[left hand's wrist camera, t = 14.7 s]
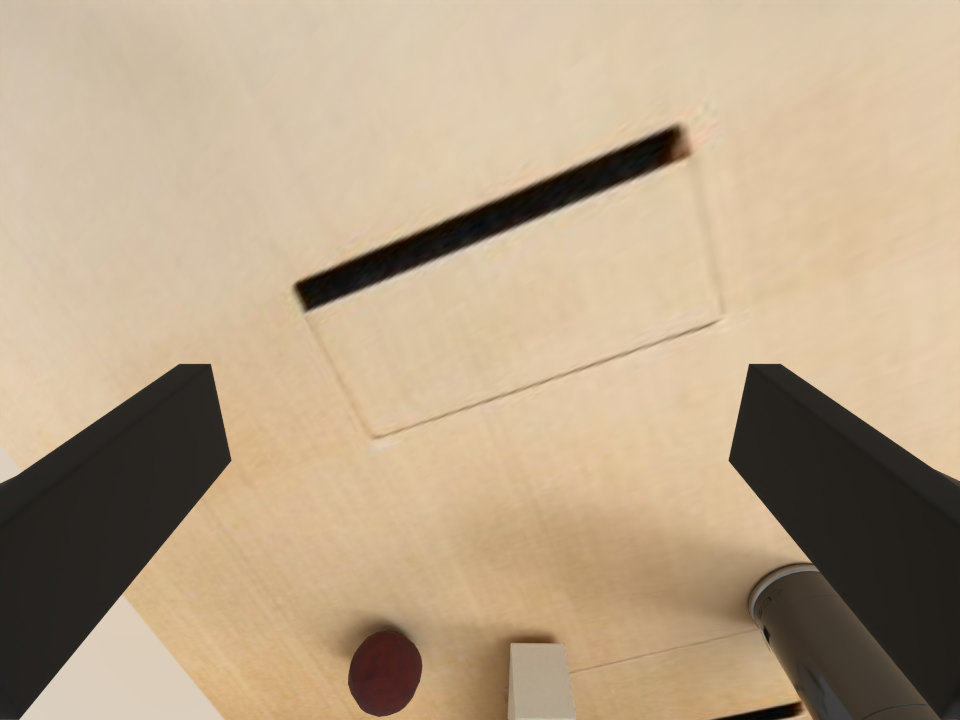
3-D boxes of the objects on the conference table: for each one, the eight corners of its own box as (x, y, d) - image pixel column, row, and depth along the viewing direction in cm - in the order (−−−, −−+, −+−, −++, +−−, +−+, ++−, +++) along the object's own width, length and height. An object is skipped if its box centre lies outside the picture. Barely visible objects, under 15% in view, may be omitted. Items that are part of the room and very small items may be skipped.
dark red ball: (374, 672, 57) (360, 739, 51) (345, 624, 54) (327, 688, 48) (435, 657, 56) (429, 723, 50) (409, 608, 54) (399, 671, 47)
